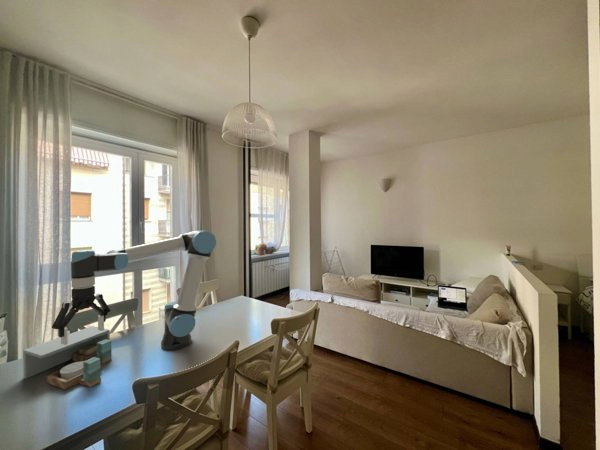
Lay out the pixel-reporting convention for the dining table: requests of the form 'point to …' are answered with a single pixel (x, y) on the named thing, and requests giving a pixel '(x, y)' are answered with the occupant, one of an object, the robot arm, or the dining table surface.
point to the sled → (86, 378)
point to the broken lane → (97, 353)
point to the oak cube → (88, 350)
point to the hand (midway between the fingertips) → (83, 336)
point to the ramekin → (71, 370)
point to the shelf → (60, 350)
